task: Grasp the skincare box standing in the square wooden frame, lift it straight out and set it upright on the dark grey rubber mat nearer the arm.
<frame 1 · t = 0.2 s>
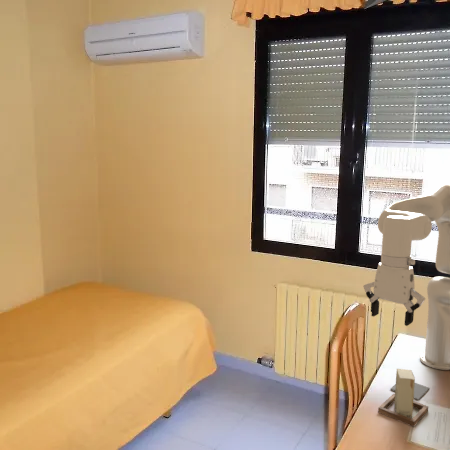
hand: (391, 319, 134), 30 cm above the table, tool pointing down, fingers open, 9 cm apart
rubber mat: (409, 389, 154), on the table
square wooden frame: (403, 411, 142), on the table
skincare box: (402, 412, 142), resting in square wooden frame
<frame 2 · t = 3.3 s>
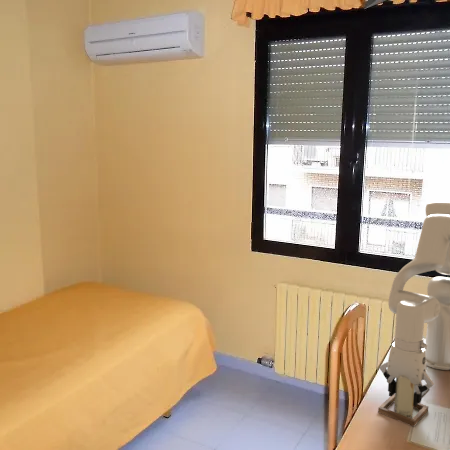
hand: (404, 398, 141), 4 cm above the table, tool pointing down, fingers closed on skincare box, 6 cm apart
skincare box: (403, 412, 142), resting in square wooden frame, touching gripper
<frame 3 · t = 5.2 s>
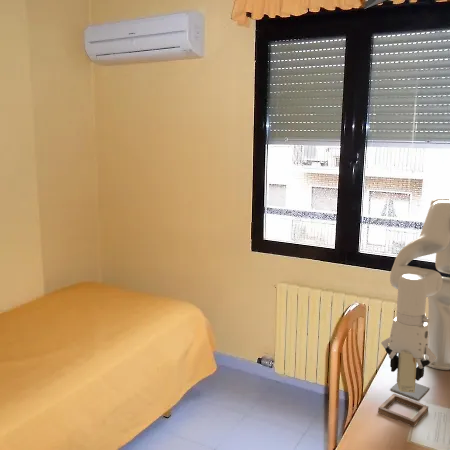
hand: (406, 373, 140), 12 cm above the table, tool pointing down, fingers closed on skincare box, 6 cm apart
skincare box: (405, 387, 141), point 8 cm above the table, touching gripper
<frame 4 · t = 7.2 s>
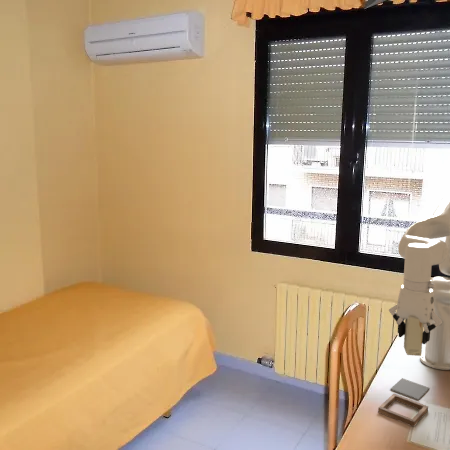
hand: (413, 338, 147), 19 cm above the table, tool pointing down, fingers closed on skincare box, 6 cm apart
skincare box: (412, 351, 148), point 15 cm above the table, touching gripper
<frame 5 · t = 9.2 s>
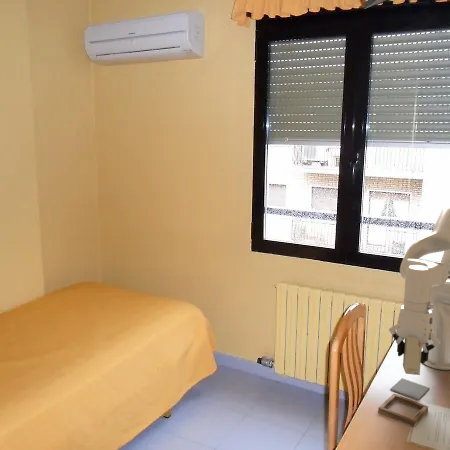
hand: (412, 358, 152), 11 cm above the table, tool pointing down, fingers closed on skincare box, 6 cm apart
skincare box: (410, 370, 152), point 7 cm above the table, touching gripper
when the fingers open (6 cm above the table, at t = 11.1 s): skincare box drops 1 cm, resting on rubber mat.
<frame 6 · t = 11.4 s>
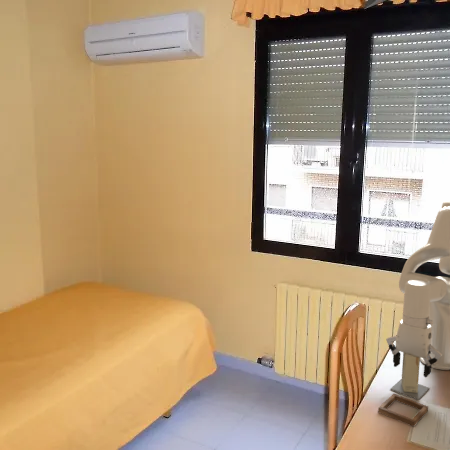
hand: (411, 370, 153), 7 cm above the table, tool pointing down, fingers open, 9 cm apart
skincare box: (409, 388, 154), resting on rubber mat
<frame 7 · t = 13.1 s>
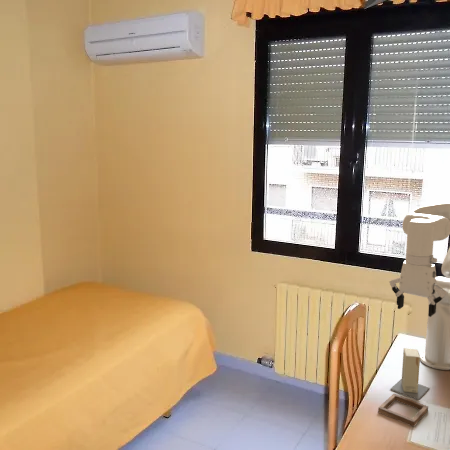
hand: (415, 311, 150), 26 cm above the table, tool pointing down, fingers open, 9 cm apart
nothing on the table moved.
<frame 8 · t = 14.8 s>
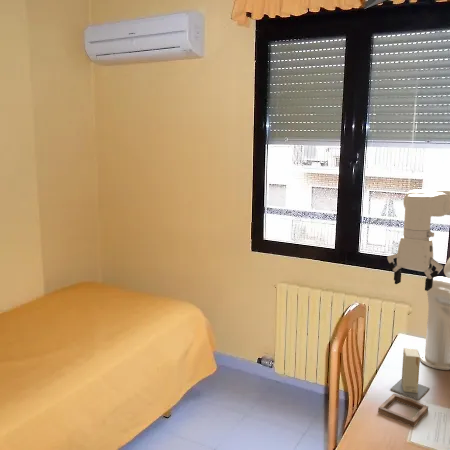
hand: (412, 286, 152), 33 cm above the table, tool pointing down, fingers open, 9 cm apart
nothing on the table moved.
at the end: skincare box 0.4 cm off-centre on the rubber mat, point 0.3 cm above the rubber mat's base; skincare box tilted 0°; the gripper is holding nothing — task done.
